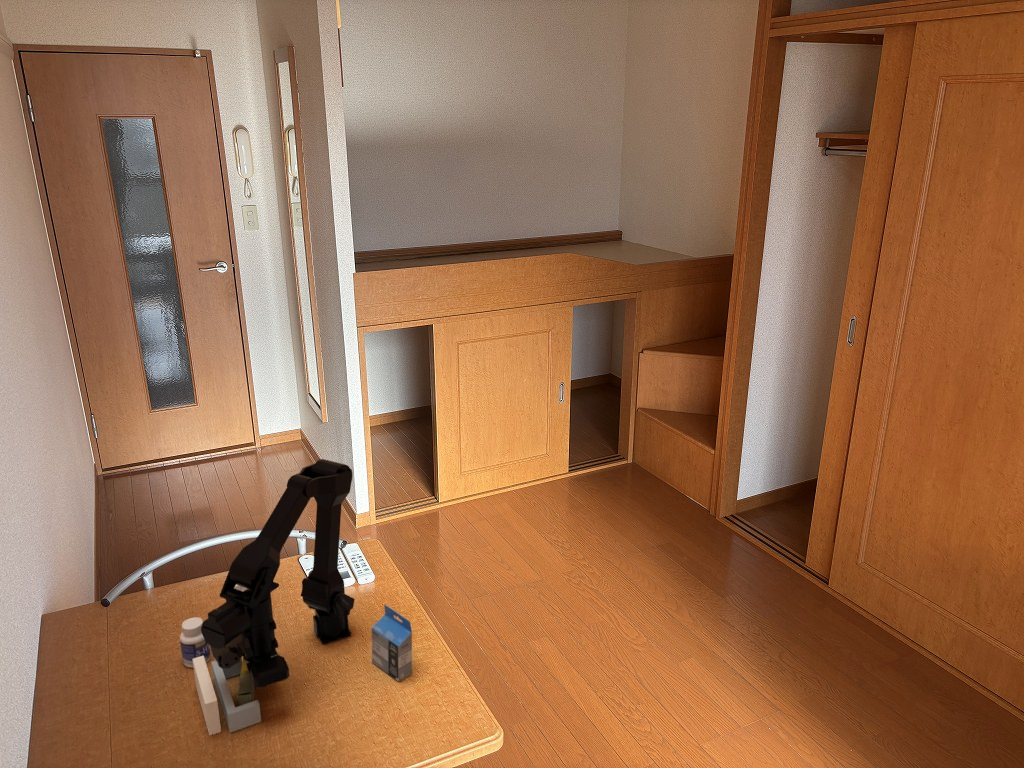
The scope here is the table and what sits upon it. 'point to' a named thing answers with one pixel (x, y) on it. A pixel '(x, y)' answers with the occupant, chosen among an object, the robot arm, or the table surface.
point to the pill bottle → (193, 642)
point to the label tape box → (392, 645)
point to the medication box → (245, 686)
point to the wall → (206, 695)
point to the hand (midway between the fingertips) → (264, 686)
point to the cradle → (240, 714)
